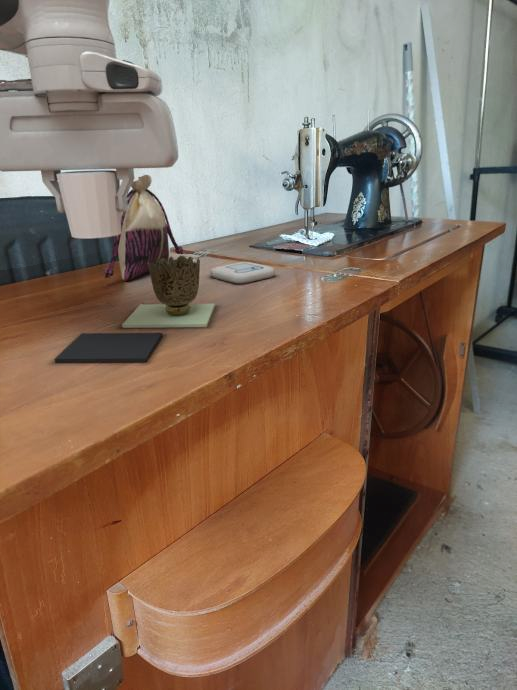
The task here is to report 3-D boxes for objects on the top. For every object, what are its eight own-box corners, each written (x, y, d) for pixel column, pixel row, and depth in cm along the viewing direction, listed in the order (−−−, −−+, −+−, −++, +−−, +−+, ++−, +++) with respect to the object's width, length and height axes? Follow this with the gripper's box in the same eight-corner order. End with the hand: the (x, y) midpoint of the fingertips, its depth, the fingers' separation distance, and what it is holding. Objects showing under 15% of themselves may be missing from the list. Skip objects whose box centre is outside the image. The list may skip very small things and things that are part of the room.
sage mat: (122, 328, 73) (121, 324, 73) (140, 307, 82) (139, 304, 82) (206, 327, 72) (206, 323, 72) (215, 306, 82) (215, 303, 82)
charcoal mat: (55, 362, 62) (54, 358, 61) (82, 336, 70) (81, 333, 70) (146, 362, 61) (145, 358, 61) (162, 336, 69) (162, 332, 69)
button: (279, 267, 99) (238, 276, 93) (279, 276, 100) (239, 285, 94) (245, 260, 106) (206, 268, 100) (245, 268, 107) (206, 276, 101)
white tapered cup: (61, 233, 62) (52, 172, 59) (119, 228, 65) (112, 169, 62) (70, 241, 56) (60, 173, 54) (133, 235, 59) (126, 171, 57)
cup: (144, 313, 78) (138, 260, 75) (186, 303, 82) (182, 253, 79) (169, 324, 72) (164, 268, 69) (212, 313, 77) (209, 260, 74)
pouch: (133, 288, 94) (120, 178, 87) (94, 285, 96) (79, 178, 89) (191, 260, 116) (185, 171, 109) (158, 259, 118) (150, 171, 111)
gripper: (-38, 76, 52) (-9, 217, 57) (163, 70, 51) (175, 213, 56) (-6, 83, 58) (18, 210, 63) (175, 78, 57) (185, 206, 62)
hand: (93, 211), depth 59 cm, fingers closed on white tapered cup, 5 cm apart
